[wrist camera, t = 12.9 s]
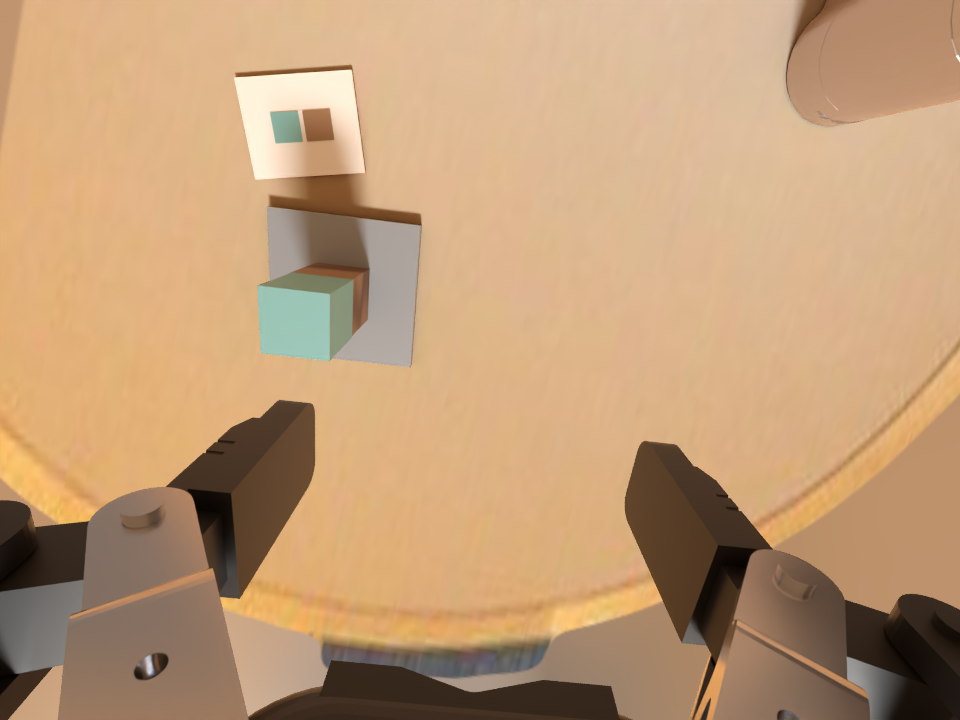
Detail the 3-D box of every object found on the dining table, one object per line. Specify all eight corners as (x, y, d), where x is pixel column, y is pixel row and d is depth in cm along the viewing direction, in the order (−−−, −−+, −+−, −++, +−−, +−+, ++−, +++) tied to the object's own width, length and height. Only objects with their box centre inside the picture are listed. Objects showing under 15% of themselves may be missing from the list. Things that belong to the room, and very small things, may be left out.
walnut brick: (316, 262, 42) (291, 272, 37) (369, 268, 43) (352, 279, 37) (317, 313, 44) (292, 330, 38) (367, 319, 44) (350, 337, 39)
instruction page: (235, 78, 38) (233, 77, 38) (352, 70, 38) (351, 69, 38) (256, 179, 41) (254, 179, 40) (365, 172, 40) (364, 172, 40)
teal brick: (292, 272, 37) (257, 285, 31) (353, 279, 37) (329, 293, 31) (293, 330, 38) (260, 353, 33) (352, 337, 39) (329, 361, 33)
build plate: (270, 206, 42) (266, 206, 41) (421, 225, 42) (420, 225, 41) (276, 349, 46) (272, 351, 45) (411, 364, 47) (410, 367, 46)
